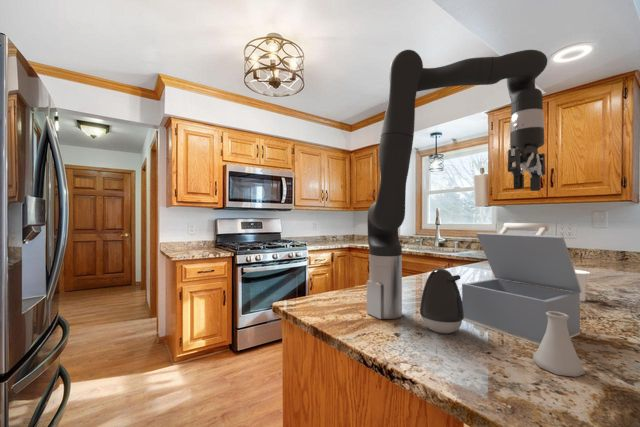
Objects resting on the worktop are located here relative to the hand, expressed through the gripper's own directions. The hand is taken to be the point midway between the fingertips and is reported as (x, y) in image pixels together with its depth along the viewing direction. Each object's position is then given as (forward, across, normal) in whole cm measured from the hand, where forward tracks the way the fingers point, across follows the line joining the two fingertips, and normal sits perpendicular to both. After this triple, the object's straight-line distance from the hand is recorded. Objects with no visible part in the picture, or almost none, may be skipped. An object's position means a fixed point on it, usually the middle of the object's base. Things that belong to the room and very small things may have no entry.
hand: (527, 189), depth 79 cm
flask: (+36, -21, -15) cm, 44 cm away
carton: (+36, -6, 0) cm, 36 cm away
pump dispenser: (+36, -24, +8) cm, 44 cm away
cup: (+36, +40, +5) cm, 54 cm away
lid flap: (+19, -2, 0) cm, 19 cm away
